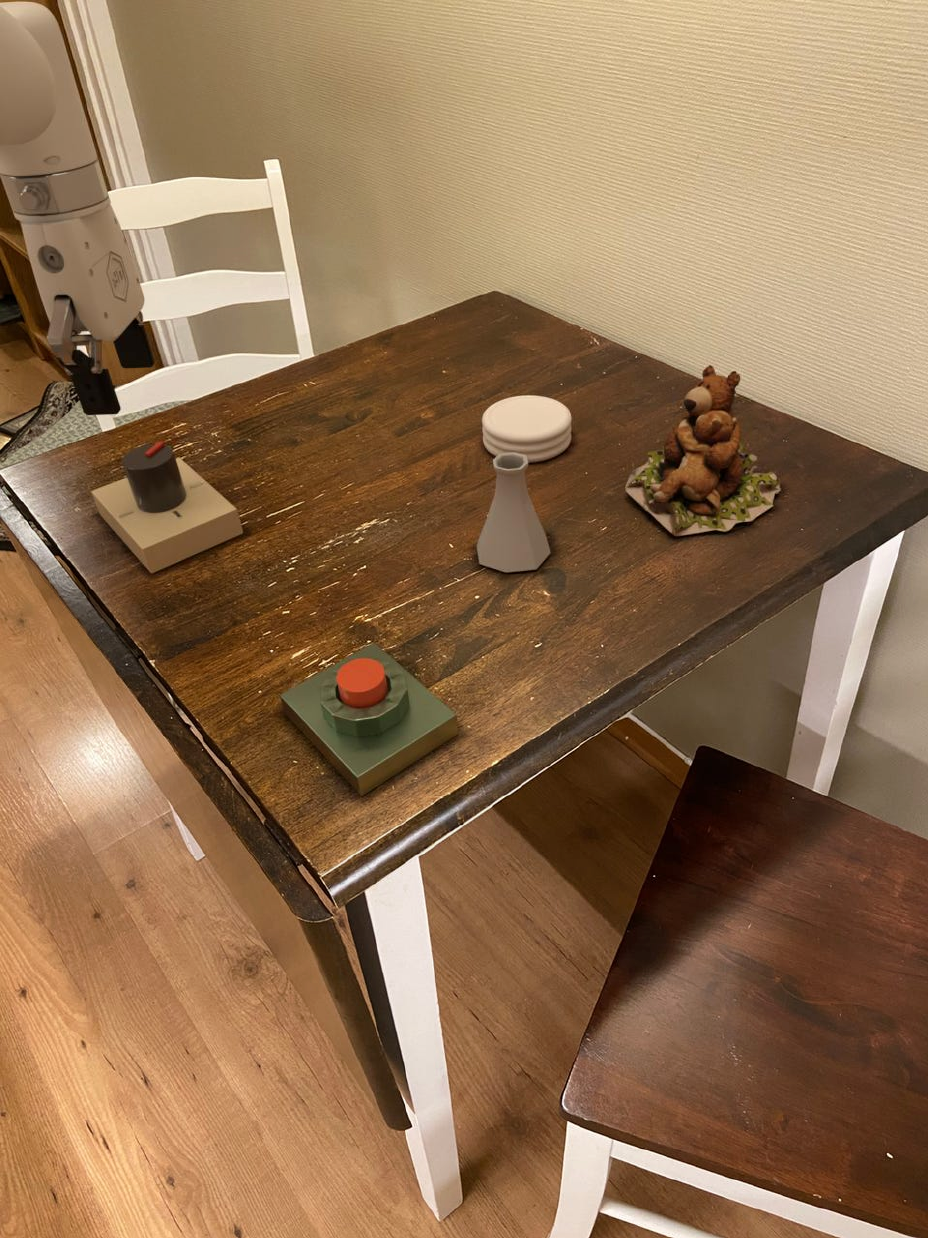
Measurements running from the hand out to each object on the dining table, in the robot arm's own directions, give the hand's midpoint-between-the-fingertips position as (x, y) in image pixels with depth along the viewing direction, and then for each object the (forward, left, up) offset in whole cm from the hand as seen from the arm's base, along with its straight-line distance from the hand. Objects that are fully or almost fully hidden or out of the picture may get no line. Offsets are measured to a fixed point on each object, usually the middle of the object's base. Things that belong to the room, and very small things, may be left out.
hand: (121, 388), depth 82 cm
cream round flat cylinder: (+25, +31, -16) cm, 43 cm away
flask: (+34, +12, -16) cm, 40 cm away
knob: (0, 0, -12) cm, 12 cm away
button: (+35, -12, -12) cm, 39 cm away
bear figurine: (+46, +29, -16) cm, 57 cm away
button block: (+35, -12, -15) cm, 41 cm away
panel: (0, 0, -15) cm, 15 cm away
